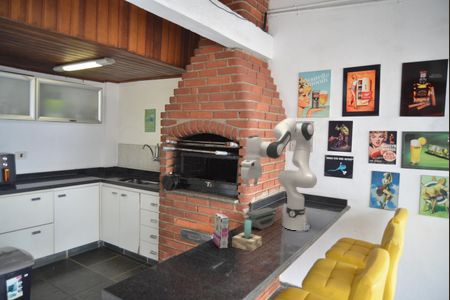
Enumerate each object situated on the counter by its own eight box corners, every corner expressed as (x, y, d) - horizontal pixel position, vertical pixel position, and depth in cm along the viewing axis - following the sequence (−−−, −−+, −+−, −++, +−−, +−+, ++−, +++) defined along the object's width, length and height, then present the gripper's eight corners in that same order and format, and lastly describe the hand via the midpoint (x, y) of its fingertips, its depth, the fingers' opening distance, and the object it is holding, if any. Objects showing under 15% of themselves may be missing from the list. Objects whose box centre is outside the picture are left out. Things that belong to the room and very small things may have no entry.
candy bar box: (228, 248, 159) (229, 217, 158) (219, 249, 157) (220, 218, 156) (221, 241, 169) (222, 212, 168) (212, 242, 167) (214, 213, 167)
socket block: (242, 240, 171) (243, 232, 171) (261, 245, 165) (261, 236, 165) (231, 246, 161) (232, 237, 161) (251, 251, 155) (251, 242, 155)
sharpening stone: (267, 222, 213) (267, 207, 212) (276, 224, 207) (277, 209, 207) (245, 229, 194) (246, 212, 194) (255, 232, 189) (255, 215, 188)
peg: (245, 244, 166) (246, 219, 165) (251, 245, 164) (252, 220, 163) (242, 246, 163) (243, 220, 162) (248, 247, 161) (249, 222, 160)
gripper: (255, 161, 185) (254, 183, 185) (239, 163, 168) (238, 187, 168) (265, 162, 181) (264, 185, 182) (249, 164, 164) (248, 188, 165)
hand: (251, 186), depth 175 cm, fingers open, 8 cm apart
